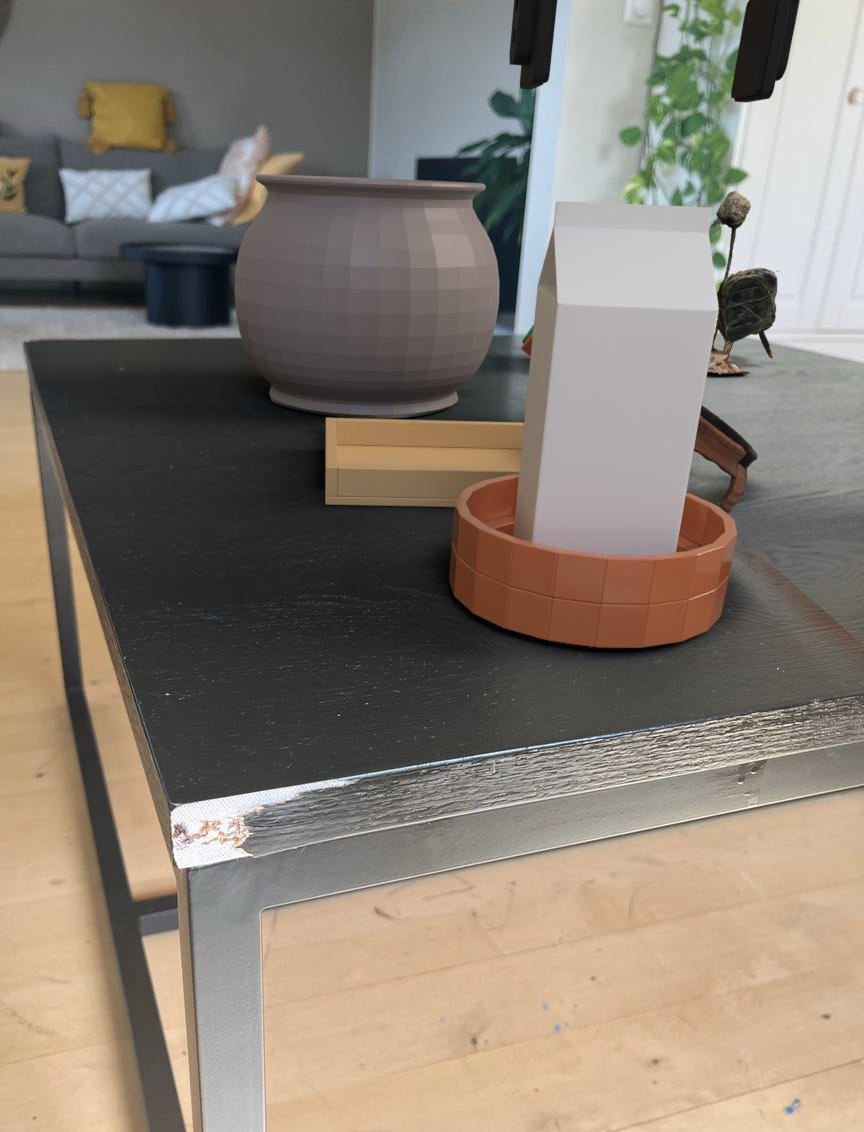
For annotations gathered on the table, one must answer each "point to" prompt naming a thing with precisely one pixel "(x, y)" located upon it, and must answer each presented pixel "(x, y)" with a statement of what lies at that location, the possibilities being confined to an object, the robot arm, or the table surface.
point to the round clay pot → (366, 293)
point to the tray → (415, 459)
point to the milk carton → (616, 377)
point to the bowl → (588, 576)
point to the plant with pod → (741, 295)
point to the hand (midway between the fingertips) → (642, 93)
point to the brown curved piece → (724, 453)
